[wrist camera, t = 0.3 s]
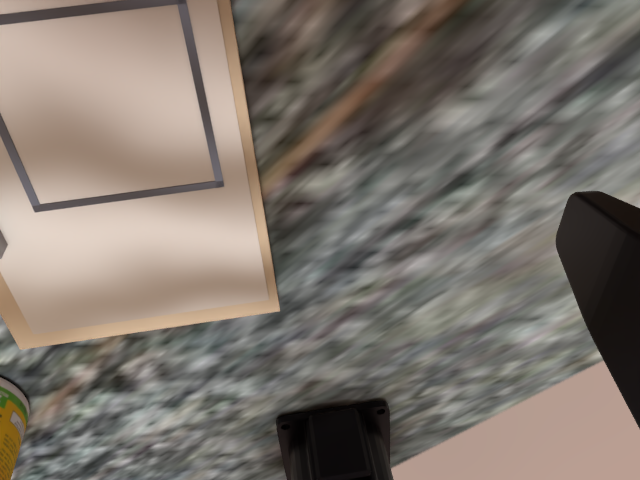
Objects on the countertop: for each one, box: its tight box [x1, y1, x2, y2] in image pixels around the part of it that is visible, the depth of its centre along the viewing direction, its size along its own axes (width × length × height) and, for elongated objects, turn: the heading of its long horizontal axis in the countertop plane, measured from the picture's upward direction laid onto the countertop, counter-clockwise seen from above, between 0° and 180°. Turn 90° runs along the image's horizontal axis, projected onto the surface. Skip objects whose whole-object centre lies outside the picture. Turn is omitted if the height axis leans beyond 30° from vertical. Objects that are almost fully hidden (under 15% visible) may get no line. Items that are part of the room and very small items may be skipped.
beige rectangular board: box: [0, 0, 280, 350], centre depth 22 cm, size 18×12×2 cm, turn 4°
